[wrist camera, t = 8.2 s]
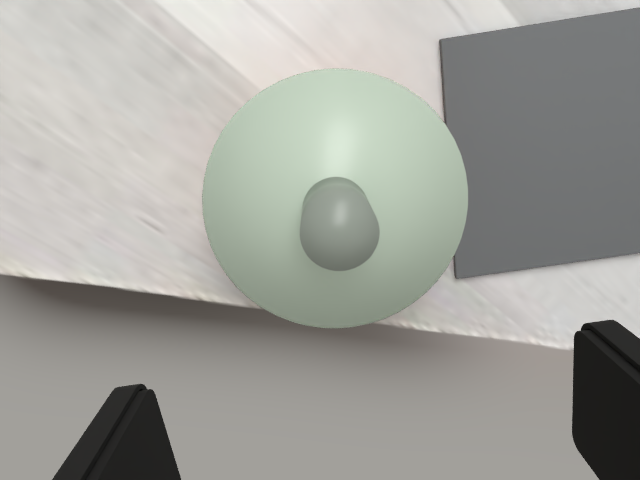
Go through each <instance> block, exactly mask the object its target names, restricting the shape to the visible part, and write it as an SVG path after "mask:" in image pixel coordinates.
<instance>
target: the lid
mask: <svg viewBox="0 0 640 480" xmlns="http://www.w3.org/2000/svg"><path fill="white" fill-rule="evenodd" d="M202 203H203V217H204V223H205V228H206V232H207V235H208V239H209V242H210V245H211V247H212V250H213V252H214V254H215V256H216V258H217V260H218V262H219V264H220V265H221V267H222V268H223V270H224V272H225V273H226V275H227V276H228V277H229V278H230V279H231V281H232V282H233V283H234V284H235V286H236V287H237V288H238V289H239V290H240V291H242V292H243V293H244V294H245V295H246V296H247V297H248V298H249V299H251V300H252V301H253V302H255V303H256V304H257V305H259V306H260V307H262V308H263V309H265V310H267V311H269V312H270V313H272V314H274V315H276V316H279V317H281V318H284V319H286V320H288V321H291V322H295V323H298V324H302V325H306V326H312V327H319V328H346V327H347V328H348V327H355V326H361V325H366V324H370V323H373V322H376V321H379V320H382V319H385V318H387V317H389V316H391V315H393V314H395V313H398V312H399V311H401V310H403V309H404V308H406V307H407V306H409V305H411V304H412V303H414V302H415V301H416V300H417V299H419V298H420V297H421V296H422V295H424V294H425V293H426V292H427V291H428V290H429V289H430V288H431V287H432V286H433V285H434V284H435V283H436V282H437V280H438V279H439V278H440V276H441V275H442V274H443V272H444V271H445V270H446V268H447V267H448V265H449V263H450V261H451V260H452V258H453V256H454V255H455V252H456V250H457V248H458V245H459V243H460V241H461V238H462V234H463V231H464V227H465V223H466V217H467V210H468V185H467V177H466V171H465V167H464V163H463V160H462V156H461V153H460V151H459V149H458V146H457V144H456V142H455V139H454V138H453V136H452V134H451V133H450V131H449V129H448V128H447V126H446V124H445V123H444V122H443V121H442V119H441V118H440V117H439V116H438V114H437V113H436V112H435V111H434V110H433V109H432V108H431V107H430V106H429V105H428V104H427V103H426V102H425V101H424V100H423V99H421V98H420V97H419V96H417V95H416V94H415V93H413V92H412V91H410V90H409V89H407V88H406V87H404V86H402V85H400V84H398V83H396V82H394V81H392V80H390V79H388V78H385V77H382V76H379V75H376V74H373V73H369V72H364V71H359V70H353V69H323V70H314V71H310V72H305V73H301V74H297V75H294V76H292V77H289V78H286V79H284V80H281V81H279V82H277V83H275V84H273V85H272V86H270V87H268V88H266V89H264V90H263V91H261V92H260V93H259V94H257V95H256V96H255V97H253V98H252V99H251V100H249V101H248V102H247V103H246V104H245V105H244V106H243V107H242V108H241V109H240V110H239V111H238V112H237V113H236V114H235V115H234V116H233V117H232V119H231V120H230V121H229V123H228V124H227V125H226V127H225V128H224V129H223V131H222V133H221V135H220V136H219V138H218V140H217V142H216V144H215V145H214V148H213V150H212V153H211V156H210V158H209V161H208V164H207V168H206V173H205V177H204V184H203V194H202Z"/></svg>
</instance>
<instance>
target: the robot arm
mask: <svg viewBox="0 0 640 480" xmlns="http://www.w3.org/2000/svg"><path fill="white" fill-rule="evenodd" d="M572 435H573V440H574V443H575V445H576V447H577V449H578V451H579V452H580V453H581V455H582V456H583V458H584V459H585V461H586V462H587V463H588V465H589V466H590V467H591V469H592V470H593V471H594V472H595V474H596V475H597V477H598V478H599V480H640V339H639V338H638V337H636V336H635V335H634V334H633V333H631V332H630V331H629V330H627V329H626V328H625V327H623V326H622V325H621V324H619V323H618V322H616V321H614V320H606V321H599V322H592V323H585V324H584V325H583V326H582V328H581V331H577V332H576V333H575V335H574V368H573V417H572ZM52 480H181V478H180V474H179V471H178V468H177V464H176V461H175V458H174V454H173V451H172V448H171V445H170V441H169V438H168V435H167V431H166V428H165V425H164V422H163V418H162V415H161V412H160V408H159V405H158V402H157V399H156V395H155V393H154V391H153V390H151V389H149V390H147V389H146V387H145V385H143V384H137V385H129V386H122V387H117V388H115V389H114V390H113V391H112V393H111V394H110V396H109V397H108V398H107V400H106V402H105V403H104V404H103V406H102V407H101V409H100V410H99V412H98V413H97V415H96V416H95V418H94V419H93V421H92V422H91V424H90V425H89V426H88V428H87V429H86V431H85V432H84V434H83V435H82V437H81V438H80V440H79V441H78V443H77V444H76V446H75V447H74V449H73V450H72V451H71V453H70V454H69V456H68V457H67V459H66V460H65V462H64V463H63V465H62V466H61V468H60V469H59V470H58V472H57V473H56V475H55V476H54V478H53V479H52Z"/></svg>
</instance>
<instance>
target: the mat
mask: <svg viewBox="0 0 640 480" xmlns="http://www.w3.org/2000/svg"><path fill="white" fill-rule="evenodd" d="M440 54H441V69H442V85H443V100H444V115H445V124H446V126H447V128H448V129H449V131H450V133H451V134H452V136H453V138H454V139H455V142H456V144H457V146H458V149H459V151H460V153H461V156H462V160H463V163H464V167H465V171H466V177H467V185H468V210H467V217H466V223H465V227H464V231H463V234H462V238H461V241H460V243H459V245H458V248H457V250H456V252H455V255H454V269H455V277H456V278H457V279H459V278H466V277H473V276H481V275H488V274H495V273H502V272H509V271H516V270H523V269H530V268H537V267H544V266H551V265H558V264H566V263H573V262H580V261H587V260H594V259H601V258H608V257H615V256H622V255H629V254H636V253H640V8H633V9H627V10H621V11H615V12H608V13H602V14H596V15H590V16H583V17H577V18H571V19H565V20H558V21H552V22H546V23H539V24H533V25H527V26H521V27H514V28H508V29H502V30H496V31H489V32H483V33H477V34H471V35H464V36H458V37H452V38H446V39H441V40H440Z"/></svg>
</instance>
